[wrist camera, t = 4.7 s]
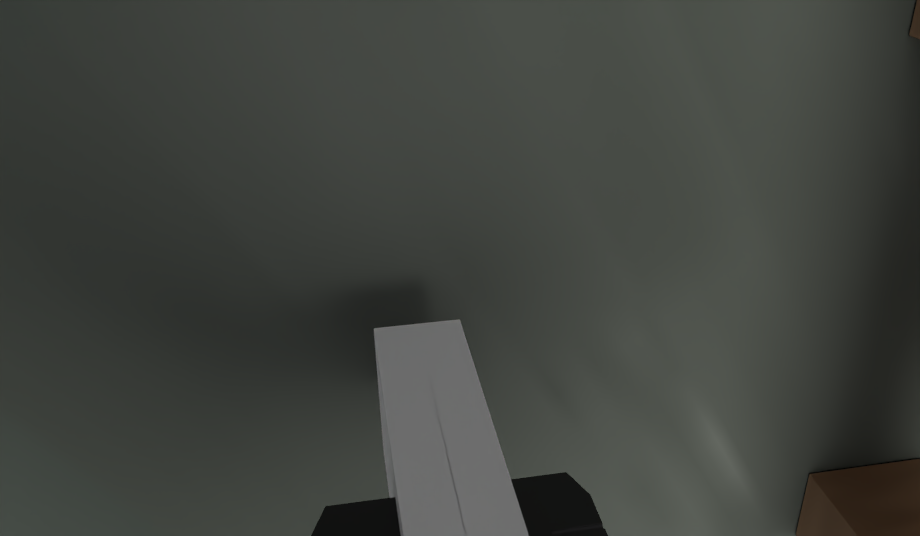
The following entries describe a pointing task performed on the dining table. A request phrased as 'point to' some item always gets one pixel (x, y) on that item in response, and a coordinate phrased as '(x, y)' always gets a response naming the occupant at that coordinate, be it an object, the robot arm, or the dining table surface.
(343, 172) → the dining table surface
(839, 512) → the bridge
